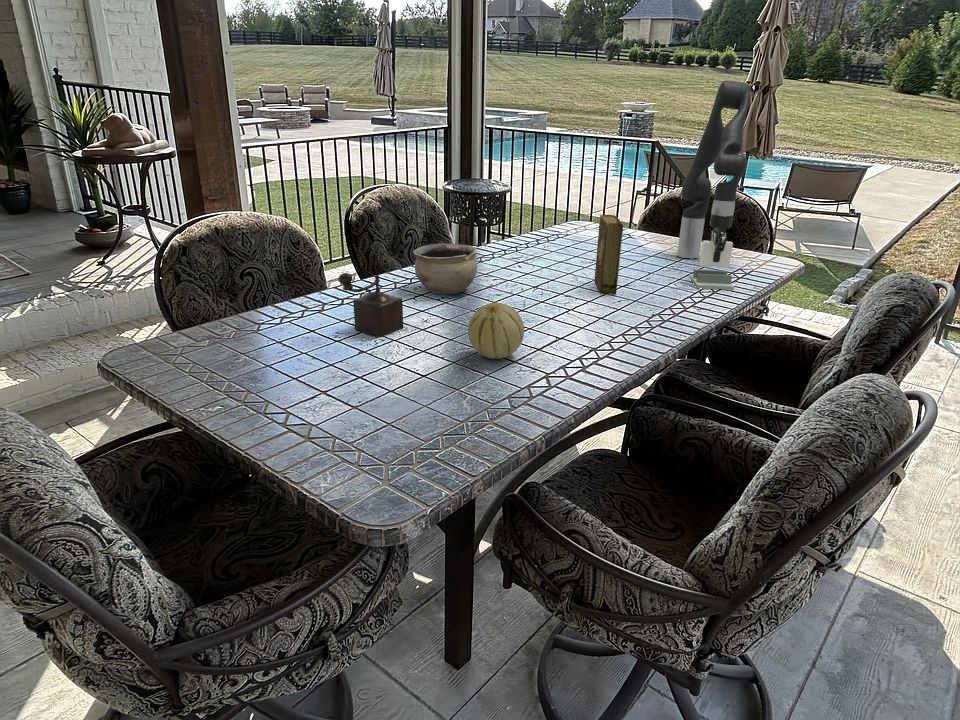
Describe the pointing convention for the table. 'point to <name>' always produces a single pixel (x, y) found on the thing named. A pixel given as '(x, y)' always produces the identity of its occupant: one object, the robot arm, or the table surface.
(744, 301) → the table surface
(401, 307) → the manual coffee grinder
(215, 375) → the table surface
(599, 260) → the book
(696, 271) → the dish rack
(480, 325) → the cantaloupe
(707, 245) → the cream rectangular prism
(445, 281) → the ceramic bowl
